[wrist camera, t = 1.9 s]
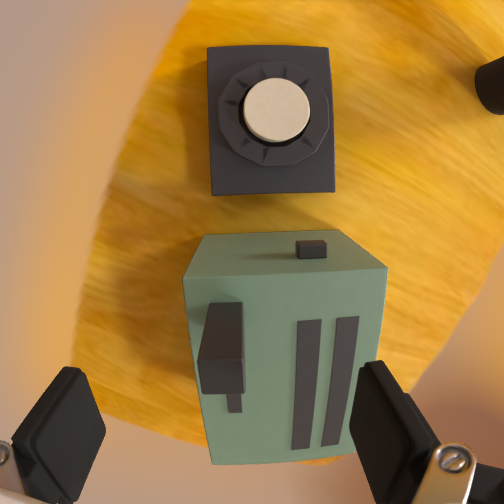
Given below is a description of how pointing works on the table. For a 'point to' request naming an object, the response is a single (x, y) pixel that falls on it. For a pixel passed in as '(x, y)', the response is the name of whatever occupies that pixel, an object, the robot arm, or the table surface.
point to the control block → (255, 149)
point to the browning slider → (223, 350)
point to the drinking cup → (491, 85)
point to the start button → (276, 110)
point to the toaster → (287, 340)
